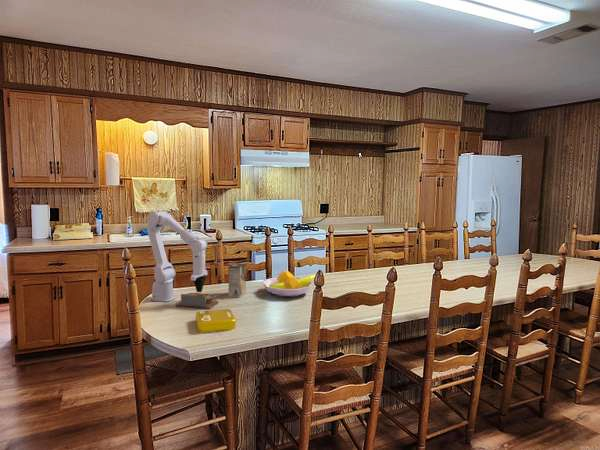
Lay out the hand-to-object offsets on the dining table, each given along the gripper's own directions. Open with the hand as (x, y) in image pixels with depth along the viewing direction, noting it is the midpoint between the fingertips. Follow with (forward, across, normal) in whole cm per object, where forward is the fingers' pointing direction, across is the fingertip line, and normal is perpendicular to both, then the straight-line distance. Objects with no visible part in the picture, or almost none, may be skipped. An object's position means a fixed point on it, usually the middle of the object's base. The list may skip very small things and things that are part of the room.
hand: (199, 291), depth 193 cm
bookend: (+6, -6, 0) cm, 9 cm away
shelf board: (+6, -2, 0) cm, 6 cm away
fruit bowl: (+6, +28, -39) cm, 48 cm away
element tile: (+7, -24, -18) cm, 31 cm away
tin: (+4, +5, 0) cm, 6 cm away
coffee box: (+6, +18, -13) cm, 23 cm away
